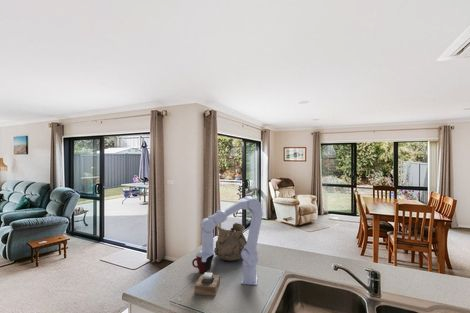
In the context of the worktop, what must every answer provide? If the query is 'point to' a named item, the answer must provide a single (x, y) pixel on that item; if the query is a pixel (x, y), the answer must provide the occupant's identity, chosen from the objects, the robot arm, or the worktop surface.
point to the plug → (208, 278)
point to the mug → (199, 263)
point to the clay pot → (230, 243)
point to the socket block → (207, 286)
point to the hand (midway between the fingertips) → (207, 270)
